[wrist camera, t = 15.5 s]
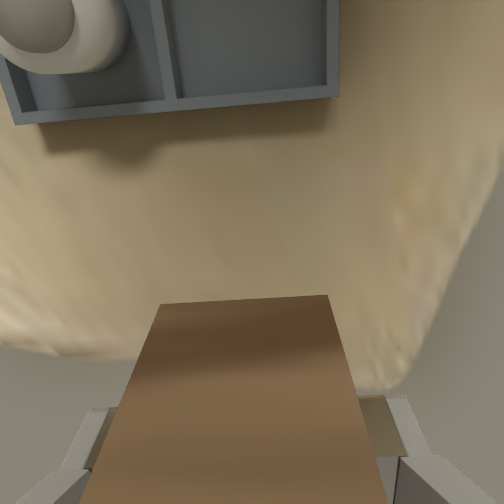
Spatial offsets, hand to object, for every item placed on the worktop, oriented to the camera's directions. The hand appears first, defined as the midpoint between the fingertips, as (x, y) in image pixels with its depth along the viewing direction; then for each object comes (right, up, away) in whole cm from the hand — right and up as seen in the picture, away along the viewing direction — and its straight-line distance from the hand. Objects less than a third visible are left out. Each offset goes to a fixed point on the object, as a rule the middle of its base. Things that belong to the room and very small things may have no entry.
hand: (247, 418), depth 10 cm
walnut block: (0, +1, +2) cm, 2 cm away
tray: (-5, +17, +11) cm, 21 cm away
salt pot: (-9, +16, +11) cm, 22 cm away
